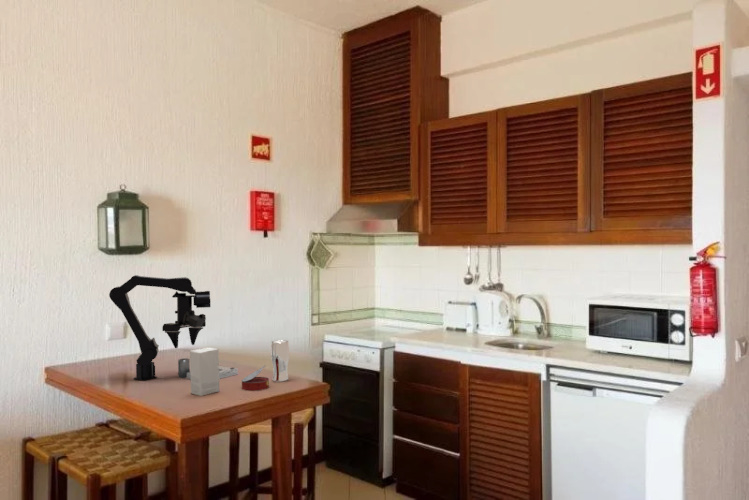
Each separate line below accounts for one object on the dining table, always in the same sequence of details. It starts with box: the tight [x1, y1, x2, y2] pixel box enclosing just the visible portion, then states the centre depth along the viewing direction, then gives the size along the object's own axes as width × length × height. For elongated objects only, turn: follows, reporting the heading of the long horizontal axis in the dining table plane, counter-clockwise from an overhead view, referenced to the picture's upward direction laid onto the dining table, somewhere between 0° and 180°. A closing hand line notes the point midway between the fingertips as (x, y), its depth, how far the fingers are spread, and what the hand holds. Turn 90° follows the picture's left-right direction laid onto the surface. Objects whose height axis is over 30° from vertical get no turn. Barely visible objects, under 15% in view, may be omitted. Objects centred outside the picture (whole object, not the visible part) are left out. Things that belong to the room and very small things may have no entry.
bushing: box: [177, 357, 191, 379], centre depth 241 cm, size 4×4×7 cm
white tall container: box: [270, 339, 290, 383], centre depth 232 cm, size 7×7×15 cm
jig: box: [186, 365, 239, 380], centre depth 241 cm, size 16×12×3 cm
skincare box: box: [189, 346, 220, 397], centre depth 213 cm, size 8×7×16 cm
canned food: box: [241, 365, 270, 391], centre depth 220 cm, size 11×10×10 cm
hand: (184, 346), depth 243 cm, fingers open, 9 cm apart
